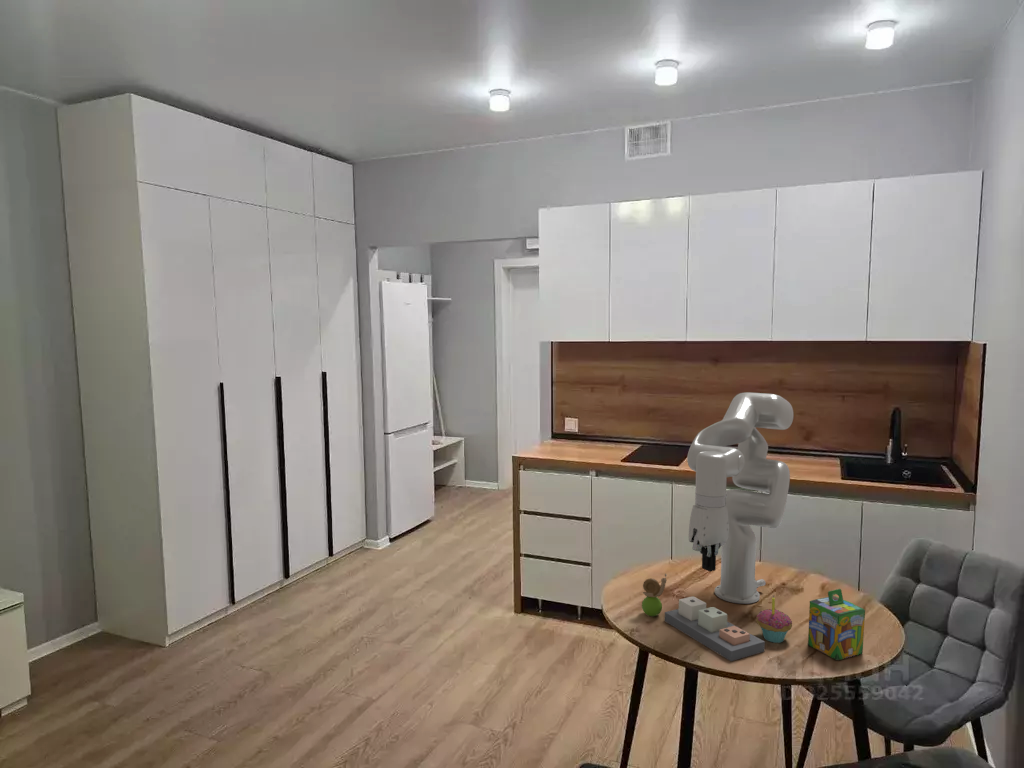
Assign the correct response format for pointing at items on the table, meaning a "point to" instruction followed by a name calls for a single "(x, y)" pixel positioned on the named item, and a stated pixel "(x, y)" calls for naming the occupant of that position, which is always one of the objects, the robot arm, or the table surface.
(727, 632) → the pink dice cube
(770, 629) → the cupcake
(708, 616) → the two pip tile
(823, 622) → the chalk box
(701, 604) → the one pip tile
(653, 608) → the snail figurine
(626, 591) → the table surface
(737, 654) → the button board
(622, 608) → the table surface
